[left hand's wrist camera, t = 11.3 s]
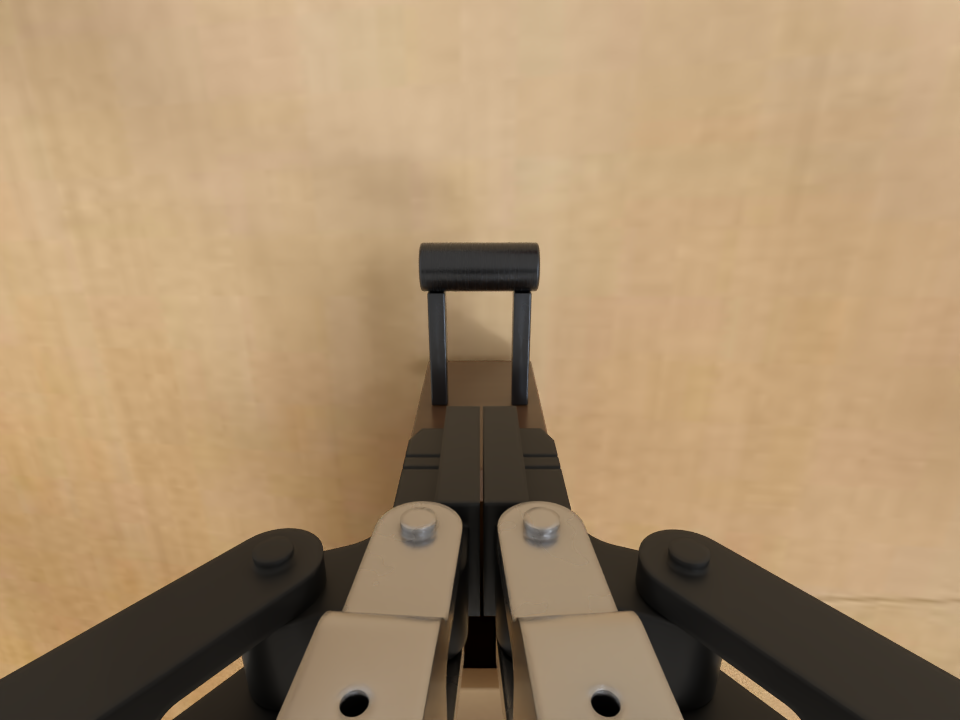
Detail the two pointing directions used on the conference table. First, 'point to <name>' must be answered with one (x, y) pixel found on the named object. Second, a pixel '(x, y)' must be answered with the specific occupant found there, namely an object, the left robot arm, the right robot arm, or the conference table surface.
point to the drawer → (479, 367)
